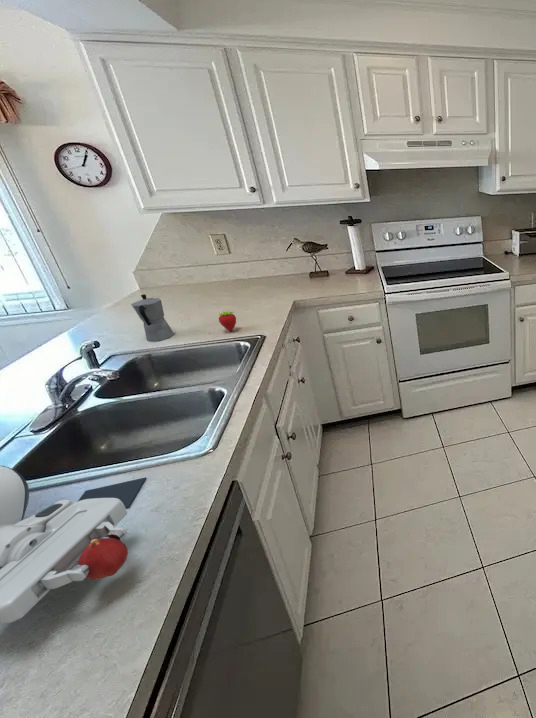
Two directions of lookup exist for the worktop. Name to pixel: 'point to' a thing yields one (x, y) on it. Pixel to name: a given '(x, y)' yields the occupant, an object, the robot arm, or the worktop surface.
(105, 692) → the worktop surface
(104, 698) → the worktop surface
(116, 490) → the pad
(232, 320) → the strawberry
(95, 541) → the red oval piece
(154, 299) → the coffeepot
